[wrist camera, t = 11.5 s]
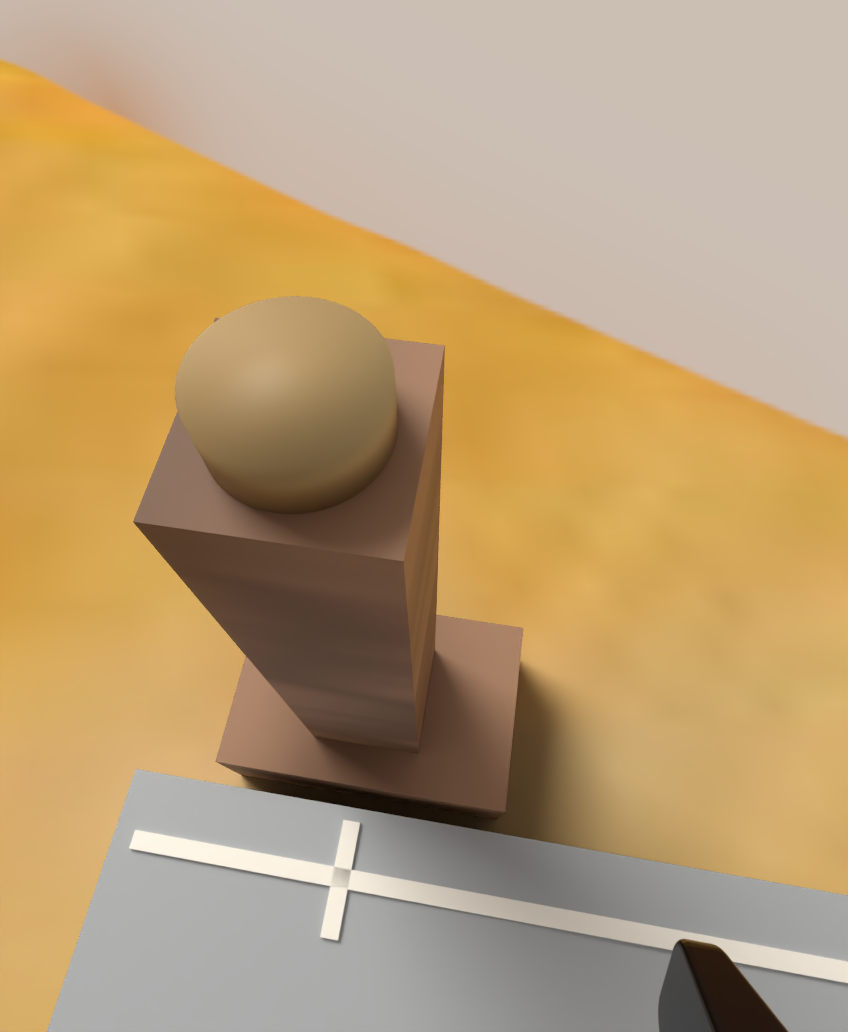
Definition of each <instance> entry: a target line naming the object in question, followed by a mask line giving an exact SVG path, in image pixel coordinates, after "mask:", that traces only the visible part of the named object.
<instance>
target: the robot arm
mask: <svg viewBox="0 0 848 1032" xmlns="http://www.w3.org/2000/svg"><path fill="white" fill-rule="evenodd" d="M658 1023H659V1032H789V1031H788V1030H787V1029H786V1028H785V1026H784V1025H783V1024H782V1023H781V1021H780V1020H779V1019H778V1018H777V1016H776V1015H775V1014H774V1013H773V1011H772V1010H771V1009H770V1008H769V1006H768V1005H767V1004H766V1003H765V1001H764V1000H763V999H762V998H761V996H760V995H759V994H758V993H757V991H756V990H755V989H754V988H753V986H752V985H751V984H750V983H749V981H748V980H747V979H746V978H745V976H744V975H743V974H742V973H741V971H740V970H739V969H738V968H737V966H736V965H735V964H734V963H733V961H732V960H731V959H730V958H729V956H728V955H727V954H726V953H725V952H724V951H723V950H722V949H721V948H720V947H718V946H716V945H714V944H710V943H705V942H699V941H694V940H689V939H680V940H678V941H677V942H676V944H675V945H674V948H673V951H672V954H671V957H670V961H669V964H668V968H667V971H666V975H665V978H664V982H663V985H662V988H661V992H660V996H659V1003H658Z"/></svg>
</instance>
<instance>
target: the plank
mask: <svg viewBox="0 0 848 1032" xmlns="http://www.w3.org/2000/svg"><path fill="white" fill-rule="evenodd" d="M680 939H689V940H694V941H699V942H705V943H710V944H714V945H716V946H718V947H720V948H721V949H722V950H723V951H724V952H725V953H726V954H727V955H728V956H729V958H730V959H731V960H732V961H733V963H734V964H735V965H736V966H737V968H738V969H739V970H740V971H741V973H742V974H743V975H744V976H745V978H746V979H747V980H748V981H749V983H750V984H751V985H752V986H753V988H754V989H755V990H756V991H757V993H758V994H759V995H760V996H761V998H762V999H763V1000H764V1001H765V1003H766V1004H767V1005H768V1006H769V1008H770V1009H771V1010H772V1011H773V1013H774V1014H775V1015H776V1016H777V1018H778V1019H779V1020H780V1021H781V1023H782V1024H783V1025H784V1026H785V1028H786V1029H787V1030H788V1031H789V1032H848V895H842V894H837V893H831V892H826V891H820V890H814V889H809V888H803V887H797V886H792V885H786V884H781V883H775V882H769V881H764V880H758V879H752V878H747V877H741V876H736V875H730V874H724V873H719V872H713V871H707V870H702V869H696V868H690V867H685V866H679V865H674V864H668V863H662V862H657V861H651V860H645V859H640V858H634V857H629V856H623V855H617V854H612V853H606V852H600V851H595V850H589V849H584V848H578V847H572V846H567V845H561V844H555V843H550V842H544V841H538V840H533V839H527V838H522V837H516V836H510V835H505V834H499V833H493V832H488V831H482V830H477V829H471V828H465V827H460V826H454V825H448V824H443V823H437V822H432V821H426V820H420V819H415V818H409V817H403V816H398V815H392V814H386V813H381V812H375V811H370V810H364V809H358V808H353V807H347V806H341V805H336V804H330V803H325V802H319V801H313V800H308V799H302V798H296V797H291V796H285V795H280V794H274V793H268V792H263V791H257V790H251V789H246V788H240V787H234V786H229V785H223V784H218V783H212V782H206V781H201V780H195V779H189V778H184V777H178V776H173V775H167V774H161V773H156V772H150V771H144V770H139V769H136V770H135V773H134V776H133V779H132V782H131V785H130V788H129V791H128V794H127V797H126V800H125V803H124V806H123V809H122V812H121V815H120V818H119V821H118V824H117V826H116V829H115V832H114V835H113V838H112V841H111V844H110V847H109V850H108V853H107V856H106V859H105V862H104V865H103V868H102V871H101V874H100V877H99V880H98V883H97V886H96V888H95V891H94V894H93V897H92V900H91V903H90V906H89V909H88V912H87V915H86V918H85V921H84V924H83V927H82V930H81V933H80V936H79V939H78V942H77V945H76V947H75V950H74V953H73V956H72V959H71V962H70V965H69V968H68V971H67V974H66V977H65V980H64V983H63V986H62V989H61V992H60V995H59V998H58V1001H57V1004H56V1006H55V1009H54V1012H53V1015H52V1018H51V1021H50V1024H49V1027H48V1030H47V1032H659V1023H658V1003H659V996H660V992H661V988H662V985H663V982H664V978H665V975H666V971H667V968H668V964H669V961H670V957H671V954H672V951H673V948H674V945H675V944H676V942H677V941H678V940H680Z"/></svg>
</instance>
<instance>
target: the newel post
mask: <svg viewBox="0 0 848 1032" xmlns="http://www.w3.org/2000/svg"><path fill="white" fill-rule="evenodd" d="M444 355H445V346H444V345H436V344H428V343H419V342H411V341H403V340H394V339H386V338H383V336H382V335H381V334H380V332H379V331H378V330H377V328H376V327H375V326H374V325H373V324H371V323H370V322H369V321H368V320H367V319H366V318H364V317H363V316H362V315H360V314H359V313H357V312H355V311H353V310H352V309H350V308H348V307H346V306H343V305H341V304H338V303H335V302H332V301H328V300H325V299H319V298H313V297H301V296H291V297H278V298H271V299H266V300H262V301H258V302H255V303H251V304H248V305H245V306H243V307H241V308H238V309H236V310H234V311H232V312H230V313H228V314H227V315H225V316H223V317H221V318H215V320H214V323H213V324H211V325H210V326H209V327H208V328H207V329H206V330H204V331H203V332H202V333H201V334H200V335H199V336H198V338H197V339H196V340H195V341H194V342H193V343H192V345H191V346H190V348H189V349H188V351H187V352H186V354H185V356H184V358H183V360H182V362H181V364H180V367H179V370H178V373H177V377H176V383H175V400H176V406H177V410H178V412H177V414H176V417H175V419H174V422H173V424H172V427H171V429H170V432H169V434H168V436H167V439H166V441H165V444H164V446H163V449H162V451H161V454H160V456H159V459H158V461H157V464H156V466H155V469H154V471H153V474H152V476H151V479H150V481H149V483H148V486H147V488H146V491H145V493H144V496H143V498H142V501H141V503H140V506H139V508H138V511H137V513H136V516H135V518H134V521H133V522H134V523H135V525H136V526H137V527H138V528H139V529H140V530H141V532H142V533H143V534H144V535H145V536H146V538H147V539H148V540H149V541H150V542H151V544H152V545H153V546H154V547H155V548H156V549H157V551H158V552H159V553H160V554H161V555H162V557H163V558H164V559H165V560H166V561H167V563H168V564H169V565H170V566H171V567H172V568H173V570H174V571H175V572H176V573H177V574H178V576H179V577H180V578H181V579H182V580H183V582H184V583H185V584H186V585H187V586H188V587H189V589H190V590H191V591H192V592H193V593H194V595H195V596H196V597H197V598H198V599H199V600H200V602H201V603H202V604H203V605H204V606H205V608H206V609H207V610H208V611H209V612H210V614H211V615H212V616H213V617H214V618H215V619H216V621H217V622H218V623H219V624H220V625H221V627H222V628H223V629H224V630H225V631H226V633H227V634H228V635H229V636H230V637H231V638H232V640H233V641H234V642H235V643H236V644H237V646H238V647H239V648H240V649H241V650H242V652H243V653H244V654H245V655H246V657H245V661H244V664H243V668H242V671H241V675H240V678H239V682H238V685H237V689H236V692H235V696H234V699H233V703H232V706H231V709H230V713H229V716H228V720H227V723H226V727H225V730H224V734H223V737H222V741H221V744H220V748H219V751H218V755H217V758H216V762H217V763H219V764H221V765H223V766H225V767H227V768H229V769H231V770H233V771H235V772H237V773H239V774H241V775H246V776H251V777H257V778H263V779H269V780H274V781H280V782H286V783H291V784H297V785H303V786H309V787H314V788H320V789H326V790H331V791H337V792H343V793H349V794H354V795H360V796H366V797H372V798H377V799H383V800H389V801H394V802H400V803H406V804H412V805H417V806H423V807H429V808H434V809H440V810H446V811H452V812H457V813H463V814H469V815H474V816H480V817H486V818H492V819H497V818H498V817H499V816H501V815H502V814H503V813H505V810H506V800H507V789H508V779H509V769H510V759H511V749H512V738H513V728H514V718H515V708H516V697H517V687H518V677H519V667H520V656H521V646H522V636H523V628H520V627H513V626H507V625H500V624H493V623H487V622H480V621H474V620H467V619H461V618H454V617H447V616H441V615H436V605H437V573H438V542H439V511H440V480H441V449H442V417H443V386H444Z"/></svg>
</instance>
